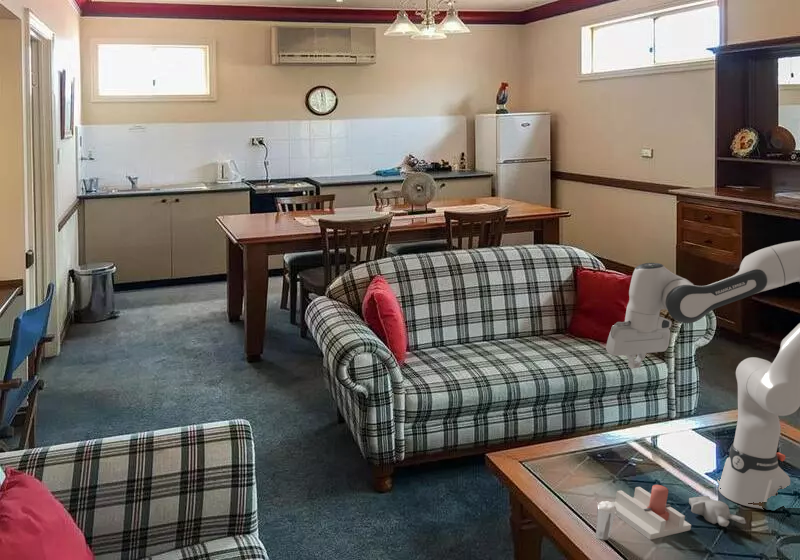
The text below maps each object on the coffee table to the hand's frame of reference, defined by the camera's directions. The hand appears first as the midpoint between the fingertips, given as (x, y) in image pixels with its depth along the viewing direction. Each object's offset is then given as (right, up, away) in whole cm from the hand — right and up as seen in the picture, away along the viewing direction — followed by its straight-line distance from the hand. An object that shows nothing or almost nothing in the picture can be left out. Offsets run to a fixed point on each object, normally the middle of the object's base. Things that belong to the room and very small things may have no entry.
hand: (634, 367), depth 210 cm
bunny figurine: (+17, -39, -11) cm, 44 cm away
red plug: (0, -37, -17) cm, 40 cm away
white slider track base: (-1, -38, -14) cm, 41 cm away
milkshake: (-16, -39, -24) cm, 49 cm away
